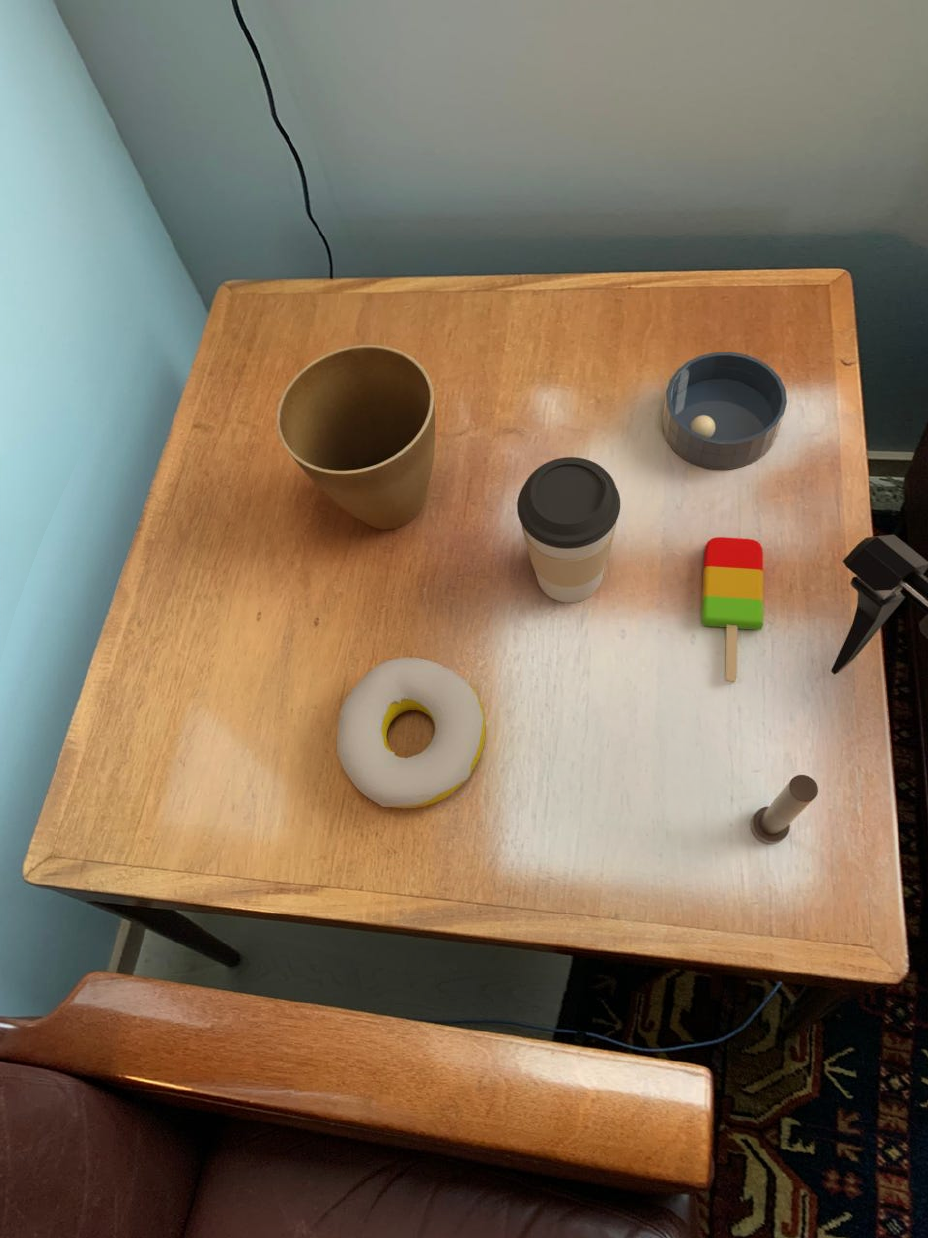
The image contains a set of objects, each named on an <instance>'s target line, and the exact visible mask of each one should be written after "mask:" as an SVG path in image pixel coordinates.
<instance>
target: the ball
mask: <svg viewBox="0 0 928 1238" xmlns="http://www.w3.org/2000/svg"><path fill="white" fill-rule="evenodd" d="M690 429H691V430H692V431H693V432H696V433H698V434H700V435H703V436H705V437H708V438H710V437H712V435H713V434H714V432H715V422H714V421H713V419H712V418H710V417H709V416H706V415H701V416H698V417H696V418H695V419H694V420H693V421H692V422H691V424H690Z"/></svg>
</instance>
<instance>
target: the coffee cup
mask: <svg viewBox="0 0 928 1238" xmlns="http://www.w3.org/2000/svg"><path fill="white" fill-rule="evenodd" d="M516 510H517V517H518V519H519V521H520V523H521V530H522V534H523V537H524V541H525V544H526V548H527V552H528V554H529V559H530V562H531V565H532V567H533V569H534V572H535V576H536V580H537V583H538V585H539V587H540V589H541V591H542V592H543V593H545V595H547V596H548V597H549V598H550V599H553V600H554V601H557V602H560V603H569V604H571V603H572V604H573V603H578V602H582V601H584V600H586V599H588V598H590V597H591V596H592V595H594V594H595V593H596V592H597V590H598V589H599V588H600V587H601V584H602V582H603V578H604V575H605V570H606V569H605V568H606V565H607V564H608V560H609V556H610V553H611V552H610V551H611V549H612V548H611V547H612V545H613V540H614V536H615V531H616V527H617V521H618V518H619V515H620V512H621V497H620V493H619V489H618V488H617V486H616V483H615V481H614V479H613V477H612V476H611V474H610V473H609V472H608V471H607V470H606V469H605V468H604V467H603V466H601V465H600V464H598V463H596V462H594V461H592V460H589V459H586V458H582V457H575V456H566V457H560V458H556V459H552V460H549V461H548V462H545V463H543V464H542V465H540V466H539V467H537V468H536V469H534V471H533V472H532V473H531V474H530V475H529V476H528V477H527V479H526V481H525V482H524V484H523V486H522V487H521V489H520V491H519V494H518V497H517V502H516Z"/></svg>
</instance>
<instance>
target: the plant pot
mask: <svg viewBox="0 0 928 1238" xmlns="http://www.w3.org/2000/svg"><path fill="white" fill-rule="evenodd" d="M276 429H277V430H276V431H277V433H278V434H277V435H278V437H279V440H280V442H281V444H282V446H283V447H284V449H285V450H286V451H287V452H288V455H290V456H291V457H292V459H293V461H295V462H296V464H297V465H298V466H299V467H300V468H301V469H302V471H303V472H304V473H305V474H306V475H307V476H308V478H309V479H310V480H311V481H312V482H313V483H314V484H315V485H316V486H317V487H318V488H319V489H320V490H321V491H322V493H324V494H325V495H326V496H327V497H329V498H330V499H331V500H332V501H333V502H334V503H335V504H337V505H338V506H339V507H340V508H342V509H343V510H345V511H346V512H347V513H348V514H350V515H351V516H353V517H355V518H356V519H358V520H359V521H361V522H363V523H365V524H366V525H368V526H370V527H372V528H374V529H378V530H385V531H386V530H395V529H398V528H399V529H400V528H402V527H404V526H406V525H408V524H409V523H412V522H413V521H414V520H415V518H417V516H418V515H419V513H420V512H421V510H422V508H423V505H424V503H425V499H426V496H427V493H428V491H429V486H430V482H431V478H432V472H433V466H434V457H435V448H436V446H435V445H436V405H435V394H434V386H433V384H432V381H431V379H430V376H429V374H428V373H427V371H426V369H425V368H424V367H423V365H422V364H421V363H420V362H419V361H417V360H416V359H415V358H414V357H412V356H411V355H409V354H407V353H405V352H403V351H401V350H399V349H396V348H394V347H390V346H386V345H385V346H384V345H379V344H359V345H351V346H347V347H346V346H345V347H343V348H339V349H334V350H333V351H330V352H327V353H325V354H324V355H322V356H319V357H318V358H316V359H315V360H313V361H311V362H310V363H309V364H307V365H306V366H305V367H304V368H302V369H301V370H300V371H299V372H298V373H297V374H296V375H295V376H294V377H293V379H291V381H290V382H288V385H287V386H286V388H285V390H284V391H283V393H282V395H281V397H280V399H279V403H278V405H277V409H276Z"/></svg>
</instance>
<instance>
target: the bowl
mask: <svg viewBox="0 0 928 1238" xmlns="http://www.w3.org/2000/svg"><path fill="white" fill-rule="evenodd" d="M787 403H788V399H787V389H786V387H785V385H784V383H783V381H782V379H781V377H780V376H779V374H778V373H777V372H776V371H775V370H774V369H773V368H772V367H771V366H770V365H769V364H766V362H764V361H762V360H761V359H759V358H756V357H754V356H751V355H748V354H746V353H740V352H734V351H714V352H710V353H706V354H701V355H699V356H697V357H694V358H692V359H690V360H688V361H686V362H685V363H684V364H683V365H681V366H680V367H679V368H678V369H677V370H676V371H675V372H674V374H673V375H672V377H670V379H669V382H668V384H667V388H666V391H665V400H664V406H663V413H662V431H663V434H664V437H665V439H666V442H667V443H668V445H669V446H670V448H671V449H672V450H673V451H674V452H675V453H676V454H677V455H678V456H679V457H681V458H682V459H683V460H685V461H686V462H689V463H690V464H692V465H694V466H698V467H700V468H704V469H708V470H716V471H718V470H719V471H725V470H726V471H727V470H734V469H740V468H744V467H746V466H748V465H751V464H753V463H755V462H756V461H758V460H760V459H761V458H762V457H764V456H765V455H766V454H767V453H768V452H769V450H770V449H771V448H772V447H773V445H774V443H775V441H776V439H777V436H778V434H779V430H780V427H781V425H782V421H783V419H784V416H785V412H786V409H787ZM701 415H706V416H709V417H710V418H712V419H713V421H714V422H715V432H714V434H713V435H712V437H710V438H708V437H705V436H703V435H700V434H698V433H696V432H693V431H692V430H691V429H690V424H691V422H692V421H693V420H694V419H695V418H696V417H698V416H701Z"/></svg>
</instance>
